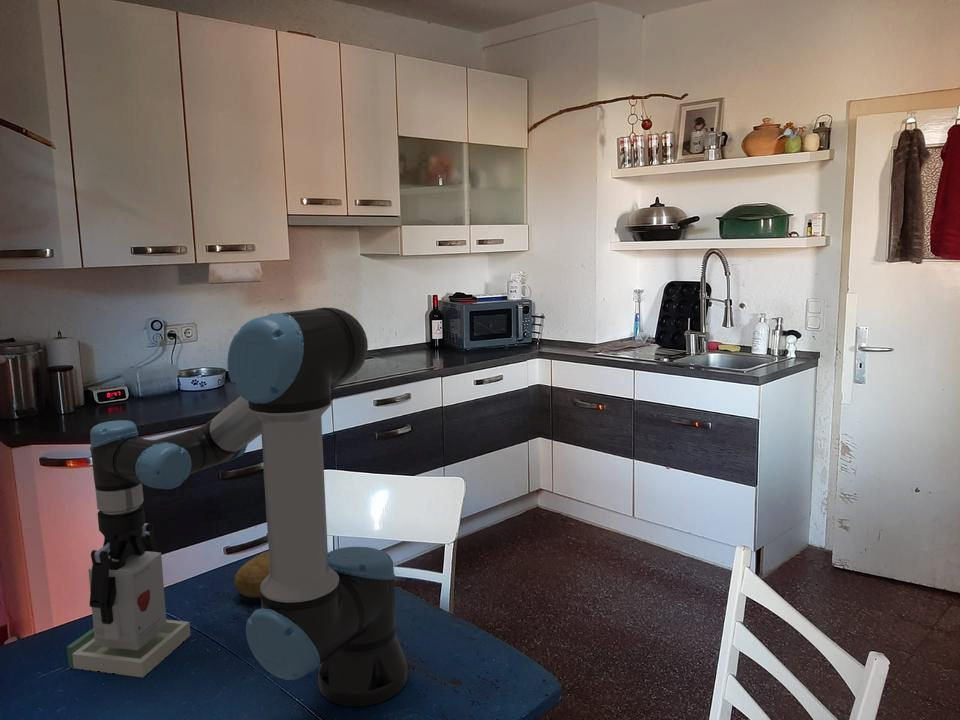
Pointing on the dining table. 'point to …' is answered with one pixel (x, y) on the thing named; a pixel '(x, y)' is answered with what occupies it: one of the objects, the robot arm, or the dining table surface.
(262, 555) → the potato
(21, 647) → the dining table surface
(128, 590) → the supplement box
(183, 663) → the dining table surface
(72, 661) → the shallow square tray
